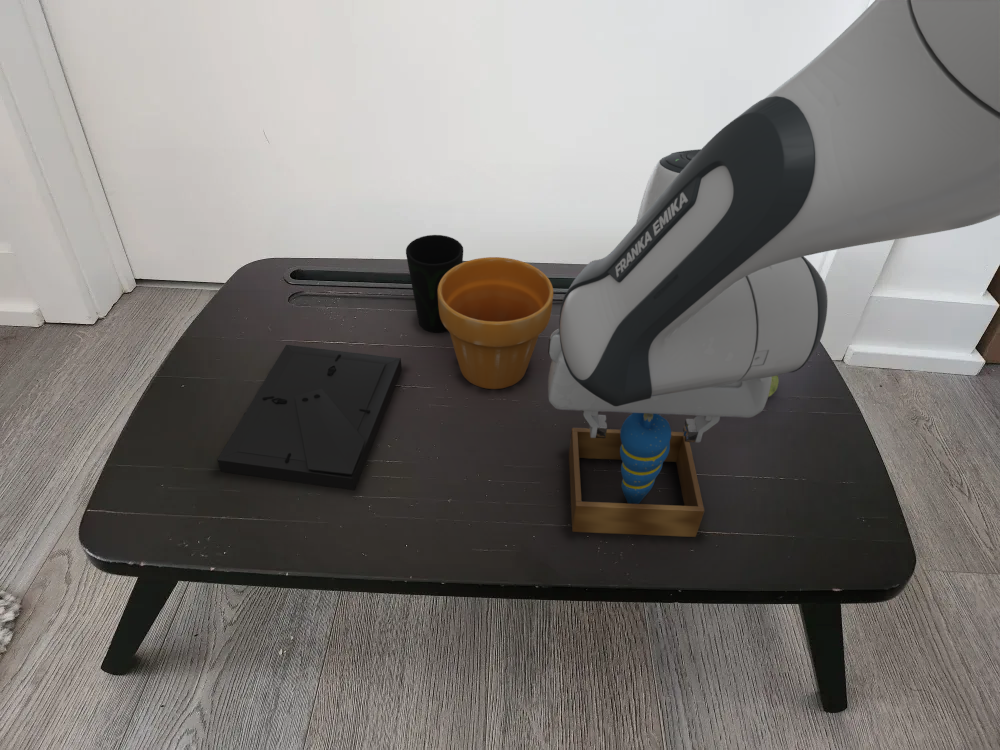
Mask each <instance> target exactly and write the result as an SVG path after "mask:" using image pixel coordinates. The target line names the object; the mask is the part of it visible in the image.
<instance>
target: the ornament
mask: <svg viewBox="0 0 1000 750" xmlns="http://www.w3.org/2000/svg"><path fill="white" fill-rule="evenodd" d="M620 430H621V431H620V437H621V442H622V445H621V447H620V456H621V459H622V460H621V461H622V463H621V465H620V473H621V476H622V477H621V478H622V480H621V485H620V486H621V490H622V491H621V492H622V493H623V496H624V497H625V500H626V503H627V504H641V502H642V501H643V500H644V499H645V497H646V496H647V495H648V494H649V493H650V491H651V490H652V489H653V487H654V484H655V482H656V478H657V477H658V475H659V474H660V473H661V471H662V468H663V465H664V464H663V463H664V462H665V461H664V460H665V459H666V457H667V456H668V453H669V449H670V439H671V432H672V429H671V425H670V422H669V421H668V420H667V419H666V418H665V417H663V416H662V415H661V414H651V413H630V415H628V416H627V417H626V419H625V420H624V421H623V423H622V425H621V428H620Z"/></svg>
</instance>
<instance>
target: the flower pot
mask: <svg viewBox="0 0 1000 750" xmlns="http://www.w3.org/2000/svg"><path fill="white" fill-rule="evenodd" d="M553 301H554V287H553V284H552V281H551V280H550V279H549V277H548V276H547V275H546V274H545V273H544V272H543V271H541V270H540V269H539V268H538V267H536V266H535V265H531V264H530V263H527V262H525V261H522V260H518V259H514V258H509V257H500V256H499V257H498V256H497V257H496V256H489V257H479V258H474V259H470V260H467V261H463V262H462V263H461V264H459V265H457V266H455V267H453V268H452V269H450V270H449V271H448V272H447V273H446V274H445V275H444V276H443V277H442V279H441V281H440V283H439V286H438V306H439V315H440V319H441V321H442V323H443V325H444V326H445V328H446V329H447V330H448V331H447V332H449V335H450V339H451V342H452V346H453V349H454V353H455V356H456V359H457V363H458V366H459V369H460V372H461V374H462V376H463V377H464V379H466V381H467V382H469V383H470V384H472V385H474V386H476V387H478V388H482V389H488V390H501V389H506V388H508V387H513V386H514V385H515V384H516V385H517V384H518V383H519V382H520V381H521V380H522V379H523V377H524V376H525V374H526V372H527V369H528V367H529V364H530V361H531V358H532V357H533V353H534V351H535V348H536V344H537V343H538V342H537V341H538V339H539V336H540V335H541V334H542V333H543V332H544V331H545V329H546V328H547V327H548V325H549V323H550V320H551V316H552V309H553Z"/></svg>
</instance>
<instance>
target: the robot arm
mask: <svg viewBox="0 0 1000 750" xmlns="http://www.w3.org/2000/svg"><path fill="white" fill-rule="evenodd" d="M999 216H1000V0H873V1H872V3H871V4H870V5H869V6H868V7H867V8H866V9H865V10H864V11H862V13H861V14H860V15H859V16H858V17H857V18H856V19H855V20H854V21H853V22H852V23H851V24H850V25H849V26H848V27H847V28H846V29H845V30H844V31H843V32H842V33H841V34H840V35H839V36H838V37H837V38H835V39H834V40H833V41H832V42H831V43H830V44H829V45H828V46H826V48H824V49H823V50H822V51H821V52H820V53H819V54H818V55H817V56H816V57H814V58H813V59H812V60H811V61H810V62H808V63H807V64H806V65H805V66H803V67H802V68H801V69H800V70H799V71H798V72H796V73H795V74H793V76H791V77H790V78H789V79H787V80H786V81H784V83H782V84H780V85H779V86H778V87H777V88H776V89H774V90H773V91H772V92H770V93H769V94H768V95H767V96H766V97H764V98H763V99H760V100H759V101H757V102H756V103H754V104H752V105H751V106H750V107H748V108H747V109H746V110H745V111H744V112H742V113H741V114H739V115H738V116H737V117H736V118H734V119H733V120H731V121H730V122H729V123H728V124H727V125H725V126H724V127H723V128H721V129H720V130H719V131H718V132H717V133H715V135H714V136H713V137H712V138H711V139H710V140H709V141H708V142H707V143H706V144H705V145H704V146H703V147H702V148H699V149H689V150H680V151H676V152H671V153H669V154H668V155H665V156H663V157H662V158H661V159H660V160H658V161H657V162H656V164H655V166H654V167H653V169H652V171H651V174H650V175H649V178H648V181H647V183H646V186H645V189H644V192H643V195H642V199H641V201H640V206H639V209H638V214H637V216H636V217H637V219H636V222H635V225H633V226H632V228H631V229H630V230H629V231H628V233H627V234H626V235H625V236H624V237H623V239H621V241H620V242H619V243H618V244H617V245H616V246H615V248H614V249H612V250H611V251H610V253H608V254H607V255H606V256H604V257H603V258H599V259H595V260H592V261H590V262H588V264H587V265H586V266H585V267H583V269H582V270H581V271H580V272H579V273H578V275H577V276H576V277H575V278H574V280H573V281H572V282H571V284H570V286H569V287H568V289H567V291H566V293H565V294H564V296H563V298H562V302H561V305H560V312H559V319H558V322H559V323H558V327H559V328H557V329H555V330H554V331H552V333H550V336H549V339H548V348H547V353H548V356H549V357H550V359H551V363H550V367H549V372H548V377H547V398H548V399H547V400H548V402H549V403H550V404H551V406H553V407H554V408H555V409H556V410H560V411H582V417H583V418H584V419H585V421H586V422H587V424H588V425H589V428H590V437H591V438H605V437H606V432H607V429H608V423H607V415H606V414H599V412H604V413H605V412H610V413H627V414H628V413H630V414H632V413H651V414H658V415H677V416H695V417H694V418H685V420H684V426H683V428H682V432H683V435H684V436H685V438H684V440H685V442H690V443H701V441H702V438H703V436H704V433H705V432H707V431H709V430H710V429H711V428H712V427H714V426H715V425H716V424H718V423H720V419H721V417H723V418H724V417H725V418H742V419H743V418H745V419H750V418H751V419H752V418H753V417H755V416H757V415H758V414H761V412H763V410H764V409H765V407H766V404H767V402H768V398H769V397H768V395H769V391H770V386H771V380H772V376H777V375H778V376H781V375H785V374H787V373H788V374H789V373H795V372H797V371H799V370H800V369H802V368H803V367H804V366H805V365H806V364H807V363H808V362H809V361H810V360H811V358H812V357H813V355H814V354H815V351H816V350H817V348H818V347H819V344H820V342H821V340H822V337H823V333H824V331H825V327H826V321H827V315H828V291H827V287H826V283H825V281H824V280H823V278H822V276H821V274H820V273H819V271H818V270H817V268H816V267H815V266H814V265H813V264H812V263H811V261H810V260H808V259H807V258H806V256H811V255H816V254H820V253H825V252H830V251H836V250H841V249H845V248H846V249H847V248H852V247H858V246H864V245H869V244H875V243H883V242H888V241H889V242H890V241H894V240H901V239H907V238H912V237H918V236H919V237H920V236H924V235H930V234H936V233H941V232H947V231H952V230H956V229H957V230H958V229H961V228H966V227H970V226H973V225H977V224H980V223H983V222H986V221H990V220H991V219H994V218H996V217H999Z"/></svg>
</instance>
